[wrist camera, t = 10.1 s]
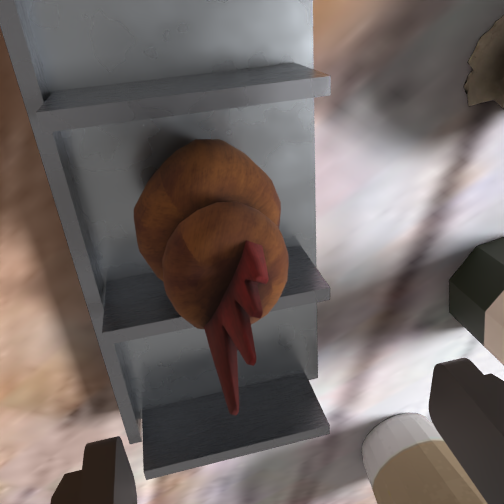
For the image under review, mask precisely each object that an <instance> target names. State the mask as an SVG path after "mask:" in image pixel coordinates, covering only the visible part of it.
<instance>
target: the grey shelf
mask: <svg viewBox="0 0 504 504" xmlns="http://www.w3.org/2000/svg"><path fill="white" fill-rule="evenodd" d="M0 27H1V30H2V33H3V36H4V40H5V43H6V46H7V49H8V52H9V56H10V59H11V62H12V65H13V69H14V72H15V75H16V78H17V82H18V85H19V88H20V91H21V94H22V98H23V101H24V104H25V107H26V111H27V114H28V117H29V120H30V124H31V127H32V130H33V133H34V136H35V140H36V143H37V146H38V149H39V153H40V156H41V159H42V162H43V165H44V169H45V172H46V175H47V178H48V182H49V185H50V188H51V191H52V195H53V198H54V201H55V204H56V207H57V211H58V214H59V217H60V220H61V224H62V227H63V230H64V233H65V236H66V240H67V243H68V246H69V249H70V253H71V256H72V259H73V262H74V266H75V269H76V272H77V275H78V278H79V282H80V285H81V288H82V291H83V295H84V298H85V301H86V304H87V307H88V311H89V314H90V317H91V320H92V324H93V327H94V330H95V333H96V337H97V340H98V343H99V346H100V349H101V353H102V356H103V359H104V362H105V366H106V369H107V372H108V375H109V378H110V382H111V385H112V388H113V391H114V395H115V398H116V401H117V404H118V408H119V411H120V414H121V417H122V420H123V424H124V427H125V430H126V433H127V437H128V440H129V443H130V444H134V443H138V442H142V428H143V464H144V474H145V478H146V480H148V479H152V478H156V477H160V476H164V475H168V474H172V473H176V472H180V471H184V470H188V469H192V468H196V467H200V466H204V465H208V464H212V463H216V462H220V461H224V460H228V459H232V458H235V457H239V456H243V455H247V454H251V453H255V452H259V451H263V450H267V449H271V448H275V447H279V446H283V445H287V444H291V443H295V442H299V441H303V440H307V439H311V438H315V437H319V436H323V435H327V434H330V425H329V423H328V421H327V419H326V417H325V415H324V413H323V410H322V408H321V406H320V404H319V402H318V400H317V398H316V395H315V393H314V391H313V389H312V387H311V385H310V383H309V381H308V380H311V379H315V378H318V356H317V302H321V301H325V300H330V287H329V285H328V284H327V282H326V281H325V280H324V278H323V277H322V275H321V274H320V272H319V271H318V269H317V268H316V211H315V138H314V97H322V96H329V95H331V76H330V75H327V74H324V73H322V72H319V71H316V70H314V65H313V0H0ZM195 139H220V140H223V141H225V142H227V143H228V144H230V145H232V146H233V147H235V148H237V149H238V150H240V151H242V152H243V153H245V154H246V155H247V156H248V157H249V158H250V159H251V160H252V161H253V162H254V163H255V164H257V165H258V166H259V167H260V168H261V169H262V170H263V171H264V172H265V173H266V174H267V175H268V176H269V178H270V179H271V180H272V182H273V184H274V187H275V189H276V192H277V194H278V197H279V199H280V202H281V215H280V225H279V230H280V232H281V234H282V236H283V239H284V242H285V245H286V248H287V251H288V261H289V264H288V277H287V282H286V284H285V287H284V289H283V291H282V294H281V296H280V298H279V300H278V301H277V303H276V304H275V305H274V307H273V308H272V309H271V311H270V312H269V313H268V314H267V315H266V316H264V317H263V318H261V319H260V320H258V321H257V322H255V323H253V324H251V328H252V334H253V340H254V346H255V352H256V358H257V359H256V363H255V365H254V366H252V365H248V364H247V363H246V362H245V360H244V359H243V357H242V355H241V354H240V352H239V350H238V349H237V364H238V387H239V412H238V414H237V415H231V414H230V413H229V410H228V407H227V403H226V400H225V397H224V393H223V390H222V387H221V384H220V380H219V377H218V374H217V371H216V367H215V364H214V361H213V358H212V354H211V351H210V348H209V344H208V340H207V337H206V333H205V330H204V329H197V328H196V327H194V326H193V325H192V324H190V323H189V322H188V321H186V320H185V319H184V318H182V317H181V316H180V314H179V313H178V312H177V311H176V310H175V308H174V306H173V305H172V303H171V301H170V299H169V298H168V296H167V294H166V291H165V288H164V282H163V281H162V280H161V279H159V278H158V277H157V276H156V274H155V273H154V272H153V270H152V269H151V267H150V266H149V264H148V263H147V262H146V260H145V259H144V257H143V256H142V254H141V253H140V252H139V247H138V243H137V237H136V230H135V224H134V207H135V205H136V203H137V201H138V199H139V197H140V195H141V194H142V192H143V190H144V188H145V186H146V184H147V182H148V181H149V179H150V178H151V177H152V176H153V175H154V173H155V172H156V171H157V170H158V168H159V167H160V166H161V165H162V163H163V162H164V161H165V160H166V159H167V158H169V157H170V156H171V155H172V154H173V153H174V152H175V151H176V150H178V149H180V148H181V147H183V146H185V145H187V144H189V143H190V142H192V141H193V140H195ZM141 419H142V424H141Z"/></svg>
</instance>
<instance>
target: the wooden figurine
mask: <svg viewBox="0 0 504 504" xmlns="http://www.w3.org/2000/svg"><path fill="white" fill-rule="evenodd" d="M280 215H281V202H280V199H279V197H278V194H277V192H276V189H275V187H274V184H273V182H272V180H271V179H270V178H269V176H268V175H267V174H266V173H265V172H264V171H263V170H262V169H261V168H260V167H259V166H258V165H257V164H255V163H254V162H253V161H252V160H251V159H250V158H249V157H248V156H247V155H246V154H245V153H243V152H242V151H240V150H238V149H237V148H235V147H233V146H232V145H230V144H228V143H227V142H225V141H223V140H220V139H195V140H193V141H192V142H190V143H189V144H187V145H185V146H183V147H181V148H180V149H178V150H176V151H175V152H174V153H173V154H172V155H171V156H170V157H169V158H167V159H166V160H165V161H164V162H163V163H162V165H161V166H160V167H159V168H158V170H157V171H156V172H155V173H154V175H153V176H152V177H151V178H150V179H149V181H148V182H147V184H146V186H145V188H144V190H143V192H142V194H141V195H140V197H139V199H138V201H137V203H136V205H135V207H134V224H135V230H136V237H137V243H138V247H139V252H140V253H141V254H142V256H143V257H144V259H145V260H146V262H147V263H148V264H149V266H150V267H151V269H152V270H153V272H154V273H155V274H156V276H157V277H158V278H159V279H161V280H162V281H163V282H164V288H165V291H166V294H167V296H168V298H169V299H170V301H171V303H172V305H173V306H174V308H175V310H176V311H177V312H178V313H179V314H180V316H181V317H182V318H184V319H185V320H186V321H188V322H189V323H190V324H192V325H193V326H194V327H196V328H197V329H204V330H205V333H206V337H207V340H208V344H209V348H210V351H211V354H212V358H213V361H214V364H215V367H216V371H217V374H218V377H219V380H220V384H221V387H222V390H223V393H224V397H225V400H226V403H227V407H228V410H229V413H230V414H231V415H237V414H238V412H239V387H238V364H237V349H238V350H239V352H240V354H241V355H242V357H243V359H244V360H245V362H246V363H247V364H248V365H252V366H254V365H255V363H256V359H257V358H256V352H255V346H254V340H253V334H252V328H251V324H253V323H255V322H257V321H258V320H260V319H261V318H263V317H264V316H266V315H267V314H268V313H269V312H270V311H271V309H272V308H273V307H274V305H275V304H276V303H277V301H278V300H279V298H280V296H281V294H282V291H283V289H284V287H285V284H286V282H287V277H288V264H289V261H288V251H287V248H286V245H285V242H284V239H283V236H282V234H281V232H280V230H279V225H280Z"/></svg>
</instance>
